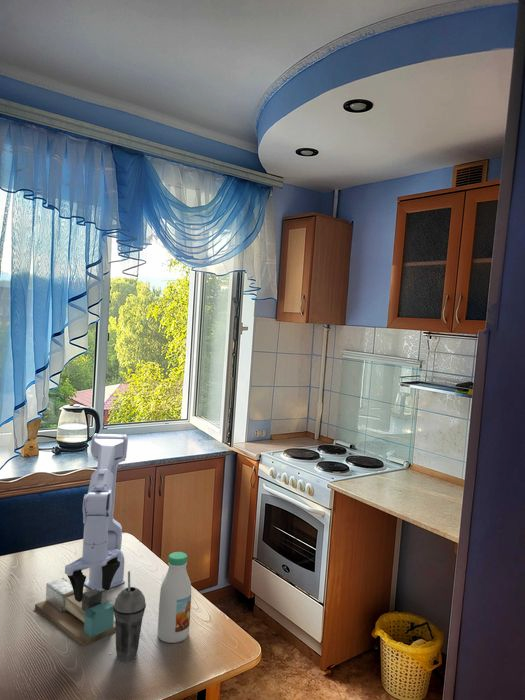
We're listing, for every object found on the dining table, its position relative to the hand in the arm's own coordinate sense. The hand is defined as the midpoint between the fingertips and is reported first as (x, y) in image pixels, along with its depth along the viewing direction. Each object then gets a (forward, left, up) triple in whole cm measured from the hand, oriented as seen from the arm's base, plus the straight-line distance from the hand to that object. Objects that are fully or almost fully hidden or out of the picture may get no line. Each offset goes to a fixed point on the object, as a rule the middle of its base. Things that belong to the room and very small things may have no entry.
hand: (92, 594), depth 128 cm
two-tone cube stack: (0, -3, -7) cm, 7 cm away
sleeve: (0, -13, -7) cm, 15 cm away
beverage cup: (0, +15, -9) cm, 17 cm away
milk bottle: (-13, +16, -9) cm, 22 cm away
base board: (0, -6, -9) cm, 11 cm away
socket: (0, +4, -7) cm, 8 cm away
